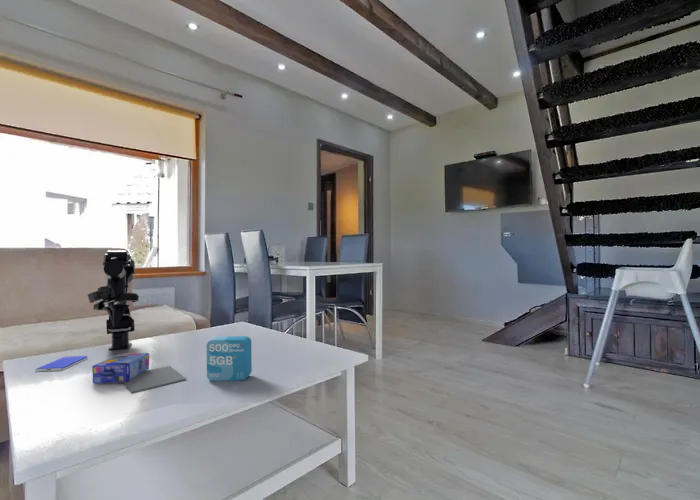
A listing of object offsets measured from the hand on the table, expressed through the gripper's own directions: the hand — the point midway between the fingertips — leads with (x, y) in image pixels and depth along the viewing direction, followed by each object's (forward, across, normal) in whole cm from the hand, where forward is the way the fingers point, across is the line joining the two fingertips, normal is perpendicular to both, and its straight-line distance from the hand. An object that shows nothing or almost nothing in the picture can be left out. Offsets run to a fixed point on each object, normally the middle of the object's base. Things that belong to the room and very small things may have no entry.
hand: (115, 325), depth 125 cm
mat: (+20, +27, -3) cm, 34 cm away
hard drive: (+12, -12, -10) cm, 20 cm away
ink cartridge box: (+14, +16, -2) cm, 21 cm away
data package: (+24, +47, +8) cm, 53 cm away
